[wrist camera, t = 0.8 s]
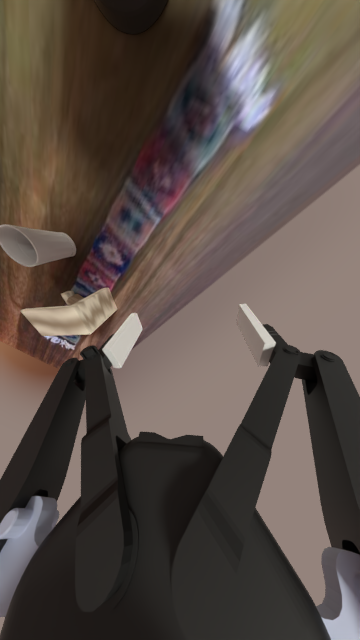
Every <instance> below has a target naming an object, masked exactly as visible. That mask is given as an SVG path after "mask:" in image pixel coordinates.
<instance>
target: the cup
mask: <svg viewBox="0 0 360 640" xmlns="http://www.w3.org/2000/svg"><path fill="white" fill-rule="evenodd" d="M0 245H1V246H2V248H3V249H4V251H5V252H6V253H7V254H8V255H9V256H10V257H11V258H12V259H13V260H15V261H16V262H18V263H19V264H21V265H24V266H27V267H33V266H37V265H41V264H44V263H48V262H52V261H55V260H59V259H63V258H67V257H73V256H74V255H75V254H76V246H75V244H74V242H73V240H72V239H71V238H70V237H69V236H68V235H67V234H65V233H62V232H51V231H44V230H37V229H30V228H26V227H19V226H13V225H6V224H4V225H0Z"/></svg>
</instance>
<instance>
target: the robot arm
mask: <svg viewBox="0 0 360 640" xmlns="http://www.w3.org/2000/svg"><path fill="white" fill-rule="evenodd" d="M94 1H95V3H96V4H97V6H98V8H99V9H100V11H101V12H102V14H103V15H104V16H105V17H106V19H107V20H108V21H109V22H110V23H111V24H112V25H113V26H115V27H116V28H117V29H119V30H121V31H122V32H125V33H129V34H137V33H141V32H143V31H145V30H146V29H148V28H149V27H150V26H151V25H152V24H153V23H154V22H155V21H156V20H157V18H158V17H159V16H160V14H161V12H162V11H163V9H164V7H165V5H166V3H167V0H94ZM237 325H238V327H239V329H240V331H241V333H242V335H243V337H244V339H245V341H246V343H247V345H248V346H249V349H250V351H251V353H252V355H253V357H254V359H255V361H256V363H257V365H258V366H268V364H269V362H270V366H269V368H268V371H267V372H266V374H265V376H264V378H263V380H262V382H261V384H260V386H259V388H258V390H257V392H256V395H255V396H254V398H253V401H252V403H251V405H250V407H249V409H248V411H247V413H246V415H245V417H244V419H243V421H242V423H241V424H240V426H239V427H238V429H237V431H236V433H235V435H234V437H233V439H232V441H231V443H230V445H229V447H228V449H227V451H226V453H225V455H224V457H223V456H222V454H221V453H220V452H219V451H218V450H217V449H216V448H215V447H214V446H213V445H211V444H210V443H208V442H206V441H204V440H203V436H193V435H185V436H181V437H178V438H174V439H167V438H165V437H162V436H161V435H158V434H156V433H152V432H151V433H150V432H140V434H139V437H136V438H134V439H133V440H131V438H130V436H129V435H128V432H127V428H126V424H125V420H124V416H123V413H122V409H121V405H120V401H119V397H118V393H117V389H116V385H115V382H114V378H113V374H112V370H111V369H110V367H111V365H113V367H114V368H121V367H122V366H123V364H124V362H125V360H126V358H127V357H128V355H129V353H130V351H131V349H132V348H133V346H134V344H135V342H136V340H137V339H138V337H139V335H140V333H141V331H142V326H141V323H140V321H139V318H138V315H137V313H131V314H130V316H129V317H128V318H127V319H126V321H125V322H124V323H123V324H122V325H121V327H120V328H119V329H118V330H117V332H116V333H115V334H113V335H111V336H110V337H109V338H108V339H107V341H106V342H105V343H104V344H103V345H102V347H101V348H100V349H99V350H97V348H96V347H95V346H89V347H87V348H85V349H83V350H82V351H81V353H80V355H81V356H82V357H83V359H84V360H80V361H79V360H78V359H77V358H71V359H69V360H67V361H65V362H64V363H63V364H62V366H61V367H60V369H59V371H58V373H57V375H56V377H55V379H54V381H53V382H52V384H51V386H50V388H49V390H48V392H47V394H46V396H45V397H44V399H43V401H42V403H41V405H40V407H39V409H38V410H37V412H36V414H35V416H34V418H33V420H32V422H31V423H30V425H29V427H28V429H27V431H26V433H25V435H24V437H23V438H22V440H21V443H20V444H19V446H18V448H17V450H16V452H15V453H14V455H13V457H12V459H11V461H10V463H9V465H8V466H7V468H6V470H5V472H4V474H3V476H2V478H1V480H0V617H5V621H4V624H3V627H2V630H1V634H0V640H360V397H359V394H358V392H357V390H356V388H355V386H354V384H353V382H352V379H351V377H350V375H349V373H348V371H347V369H346V367H345V365H344V363H343V361H342V359H341V358H340V357H339V356H337V355H335V354H333V353H331V352H328V351H323V350H319V351H316V352H315V353H314V355H313V354H308V353H302V352H300V351H299V350H298V349H297V348H295V347H293V346H290V345H288V344H287V343H286V342H285V341H284V340H283V339H282V338H281V336H280V335H278V333H277V332H276V331H275V329H274V328H273V327H271V326H269V325H268V324H265V325H262V324H261V323H260V322H259V320H258V319H257V318H256V316H255V315H254V314H253V312H252V311H251V310H250V309H249V307H248V306H247V305H246V304H239V308H238V317H237ZM294 377H295V378H299V379H302V384H303V390H304V396H305V402H306V409H307V416H308V422H309V429H310V435H311V442H312V449H313V455H314V462H315V468H316V475H317V481H318V488H319V494H320V500H321V506H322V511H323V516H324V521H325V525H326V529H327V532H328V535H329V539H330V543H331V546H332V547H328V548H326V549H324V551H323V553H322V568H323V573H324V579H325V585H326V589H325V591H326V592H325V598H324V600H323V603H322V604H320V605H318V606H315V604H314V602H313V600H312V598H311V597H310V595H309V593H308V591H307V590H306V588H305V586H304V585H303V583H302V582H301V580H300V578H299V577H298V575H297V574H296V572H295V571H294V569H293V567H292V566H291V564H290V562H289V561H288V559H287V558H286V556H285V554H284V553H283V552H282V550H281V548H280V546H279V545H278V543H277V542H276V540H275V538H274V537H273V535H272V534H271V532H270V530H269V529H268V527H267V526H266V524H265V522H264V521H263V519H262V518H261V516H260V514H259V513H258V511H257V510H256V508H255V506H256V503H257V500H258V497H259V494H260V490H261V487H262V484H263V481H264V477H265V474H266V471H267V467H268V464H269V461H270V458H271V449H272V445H273V442H274V439H275V435H276V432H277V429H278V426H279V423H280V420H281V417H282V414H283V410H284V407H285V404H286V401H287V398H288V395H289V391H290V388H291V385H292V382H293V379H294ZM85 400H86V420H87V421H86V422H87V434H86V435H85V436H84V437H83V438H82V442H81V497H80V498H79V499H78V500H77V501H76V502H75V504H74V505H73V506H72V507H71V508H70V510H69V511H68V512H67V513H66V514H65V515H64V516H63V518H62V519H61V520H60V521H59V522H58V524H57V525H56V523H57V521H58V518H59V511H58V510H57V500H58V497H59V495H60V492H61V489H62V486H63V483H64V480H65V477H66V473H67V470H68V466H69V462H70V458H71V454H72V451H73V447H74V443H75V439H76V435H77V431H78V427H79V423H80V419H81V415H82V411H83V408H84V403H85ZM55 525H56V526H55ZM54 526H55V527H54Z"/></svg>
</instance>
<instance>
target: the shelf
mask: <svg viewBox="0 0 360 640" xmlns="http://www.w3.org/2000/svg"><path fill="white" fill-rule="evenodd" d="M61 295H62V297H63V299H64V300H65V302H66V303H67V305H68V306H57V307H42V308H27V309H23V310H21V312H22V313H23V314H24V316H25V317H26V318H27V319H28V320H29V321H30V322H31V323H32V325H33V326H34V327H35V328H36V329H37V330H38V331H39V333H40V334H41V335H42V336H56V335H87V334H92V333H93V332H94V331H95V330H96V329H97V328H98V327H99V326H100V325H101V324H102V323H103V322H104V321H106V320H107V319H108V318H109V317H110V316H111V315H112V314H113V313H114V312H115V311H116V310H117V307H116V305H115V302H114V300H113V297H112V295H111V293H110V290H109V288H102V289H100V290H98V291H97V292H95V293H93V294H91V295H89V296H87V297H86V298H83V297H82V296H80V295H79V294H74V292H73V291H67V292H64V293H62V294H61Z"/></svg>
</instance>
